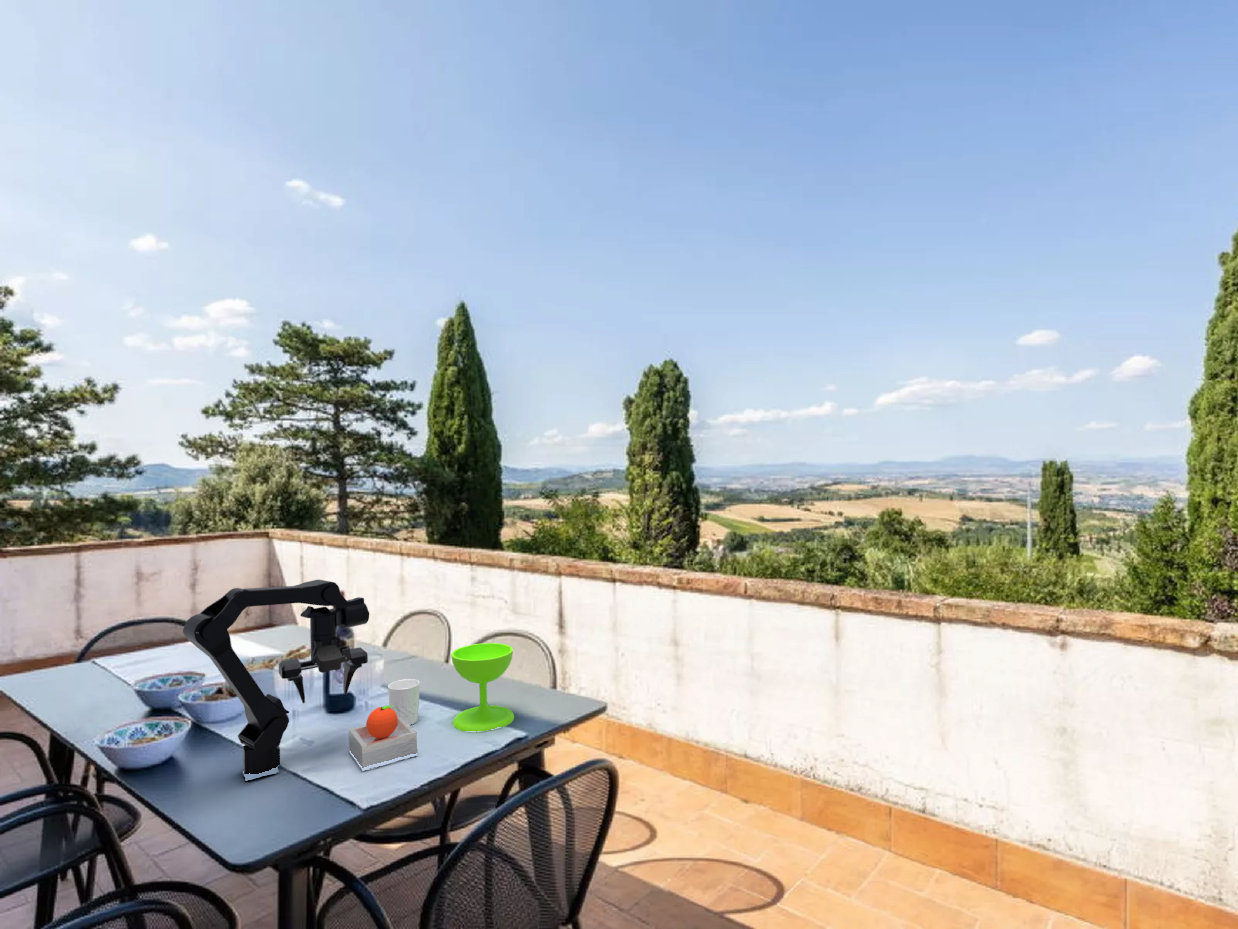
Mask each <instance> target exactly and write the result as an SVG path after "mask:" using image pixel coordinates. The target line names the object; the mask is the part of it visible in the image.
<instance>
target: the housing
mask: <svg viewBox="0 0 1238 929" xmlns="http://www.w3.org/2000/svg"><path fill="white" fill-rule="evenodd" d="M417 733H418V732H417V731H416V730H415V729H414V728H413V727H412V725H409V724H408V723H407V722H406V721H405V720H404V719H403V718H402V717H401V716H400V717H398V724H397V727H396V729H395V731H394V732H393V733H392V734H391V735H390V736H388V737H386V738H382V739H377V738H374V737H372V736H371V735H370V734H369V733H368V731H367V727H366V724H365V725H361V726H357V727H353V728H349V729H348V747H349V748H348V749H349V750H350V751H351V753H352V754H353V755H354V757H355V758H356V759H357V761H358V762H359V764H360V765H361V766H362V768H364V767H367V766H369V765H373V764H377V763H381V762H384V761H389V760H392V759H395V758H398V757H404V756H407V755H410V754H416V753H417V754H418V737H417V735H418V734H417ZM349 750H348V751H349Z"/></svg>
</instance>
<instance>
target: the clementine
mask: <svg viewBox="0 0 1238 929" xmlns="http://www.w3.org/2000/svg"><path fill="white" fill-rule="evenodd" d="M389 707H394V706H389V705H384V706H380V707H379V706H378V707H376V708H375V709H373V710H372V711H371V712H370V714H369V715H368V717H367V719H366V722H365V723H366V724H365V725H366V727H367V731H368V733H369V734H370V735H371V736H372V737H374V738H377V739H382V738H386V737H388V736H390V735H391V734H392V733H393V732H394V731H395V729H396V727H397V724H398V717H397V714H396V712H395V711H394V710H393V709H391V708H389ZM396 708H397V707H396ZM397 709H398V708H397ZM398 710H399V709H398Z"/></svg>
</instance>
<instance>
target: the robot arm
mask: <svg viewBox="0 0 1238 929" xmlns="http://www.w3.org/2000/svg"><path fill="white" fill-rule="evenodd" d="M288 604H307V605H308V606H306V609H305V610H304V611H302V612H301V613H300V617H302V618H306V619H309V622H310V624H309V626H310V629H309V630H310V631H309V634H310V659H309V660H306V661H299V659H298V658H293V659H292V658H291V659H287V660H281V661H280V663H279V664H278V675H279V676H280V678H281V679H282V680H283V679H284V680H287V682H293V683H294V686H295V688H296V691H297V693H298V695H299V697H300V700H301V703H302V704H305V703H306V695H305V689H304V681H303V680H304V677H303V676H302V671H306V670H311V669H317V670H318V672H319V673H321V674H324V673H327V672H330V671H339V670H341V669H342V665H343V664H344V665H343V685H342V686H343V687H342V688H343V694H344V695H347V694H348V691H349V689H350V686H351V682H352V679H353V677H354V674H355V672H356V671H357V670H358V669H360V668H362V667H363V665H364V664H367V663H368V662H369V660H368V659H369V658H368V657H369V656H368V653H367V652H366V651H365V650H364V649H363V648H362V647H355V648H351V647H350V645H345V646H344V645H343V646H339V644H338V643H339V642H338V636H337V635H338V633H337V632H338V628H337V626H338V627H339V628H340V629H342V630H343V629H349V628H354V627H357V626H362V625H366V624H367V623H368V622H369V619H370V611H369V608H368V606H367V604H366V602H365V597H355V598H352V599H348V600H347V599H346V598H345V597H344V596H343V595H342V594H341V591H340V587H339V585H338V584H337V583H336V582H334V581H329V580H324V579H313V580H309V581H305V582H302V583H300V584H296V585H290V586H289V585H287V586H270V587H252V588H251V587H249V588H247V587H246V588H241V587H233V588H232V589H229V591H227V592H226V593H225V594H224V595H223V596H222V597H221V598H218V599H217V600H215V601H214V602H213V603H211V604H209V605H208V606H207V607H205V608H204V609H203V610H202V611H201V612H200V613H198V614H194V615H192V616H191V617H190V618H189V619H187V620H186V622H185V623H184V626H183V628H182V633H183V635H184V637H185V638H186V639H187V640H188V641H189V642H190V643H191V644H192V645H194V646H195V647H196V648H198V650H199V651H201V652H202V653H204V655H206V656H207V657H209V658H210V659H211V661H212V663H213V664H214V666H215V667H216V668H217V669H218V671H219V672H220V674H221V675H222V677H223V679H224V680H225V681H226V683H227V684H228V685H229V687H230V689H232V691H233V692H234V694H235V695H236V697H237V698H238V699H239V701H240V703H242V705H243V708H244V712H245V713H244V714H245V718H246V720H247V724H246V725H245V726H244V727H243V729H242V730H241V731H240V732H239V733H238V735H237V737H238V740H239V743H241V745H242V744H243V745H242V760H243V761H242V764H243V765H242V767H243V768H242V769H243V771H244V774H249V773H250V774H259V773H262V772H265V771H269V770H271V769H272V768H276V767H277V766H278V765H280V766H281V749H280V748H281V747H280V744H281V742H282V738H283V736H284V733H285V732H286V730H287V728H288V726H289V723H290V718H289V716H288V714H289V713H290V711H289V710H287V709H286V708H285V707H284V703H283V702H282V699H281V698H278V697H277V696H274V695H272V694H270V693H267V694H266V695H265V694H264V692H263V690H262V689H261V688H260V686H259V685H258V683H257V682H256V680H254V678H253V677H252V675H251V673H250V672H249V671H248V669H247V668H246V666H245V665H244V663H243V662H242V660H241V659H240V658H239V656H238V655H237V653H236V652H235V650H234V649H233V646H232V640H231V636H230V633H229V631H228V630H229V628H230V627H232V625H234V623H236V621H237V620H238V618H239V617H240V616H241V614H242V613H243V611H244V610H246V609H247V608H249V607H263V606H273V605H275V606H276V605H278V606H279V605H288ZM311 605H313V606H319V607H316V608H315V607H313V606H311ZM320 606H321V607H320ZM329 606H330V607H333V608H328V607H329Z"/></svg>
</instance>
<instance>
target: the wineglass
mask: <svg viewBox="0 0 1238 929" xmlns="http://www.w3.org/2000/svg"><path fill="white" fill-rule="evenodd" d="M513 652H514V648H513V647H512V646H511V645H508V644H507V643H506V644H505V643H498V642H485V643H482V642H481V643H475V644H470V645H464V646H461V647H458V648H456V649H454V650H453V651H452V652H451V655H450V657H451V662H452V664H453V668H454V669H455V671H456V673H457V674H459V676H460V677H461V678H462V679H465V680H466V681H468V682H469V683H475V684H478V685H479V686H478V687H479V706H474V707H471V708H467V709H465V710H462V711H461V712H458V714H457V715H455V716H454V718H453V720H452V726H453V728H455V727H456V728H457V729H456V728H455V729H456V730H458V729H459V731H461V732H465V731H476V732H475V733H478V732H477V731H487V730H491V729H495V728H497V727H503V728H505V727H507V726H508V725H510V724H512V722H513V721H514V720H515V714H514V713H513V710H511V709H510V708H508V707H505V706H502V705H501V706H500V705H496V704H495V705H493V704H492V705H491V704H490V705H488V690H487V689H488V683H490V682H492V681H493V682H494V681H496V680H497V679H499V677H501V676H503V675H504V674H505V672H506V671H507V669H508V668H509V666H510V665H511V661H512V659H513ZM487 732H488V731H487Z"/></svg>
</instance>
